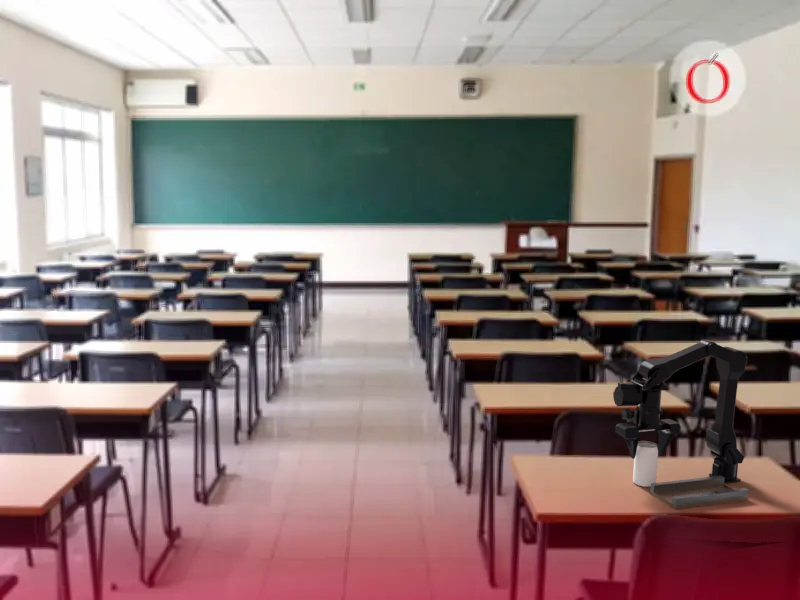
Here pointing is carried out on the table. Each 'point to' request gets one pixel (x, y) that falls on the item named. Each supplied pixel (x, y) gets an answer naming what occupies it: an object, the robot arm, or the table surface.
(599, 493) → the table surface
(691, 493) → the track
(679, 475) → the table surface
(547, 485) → the table surface
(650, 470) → the can
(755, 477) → the table surface
